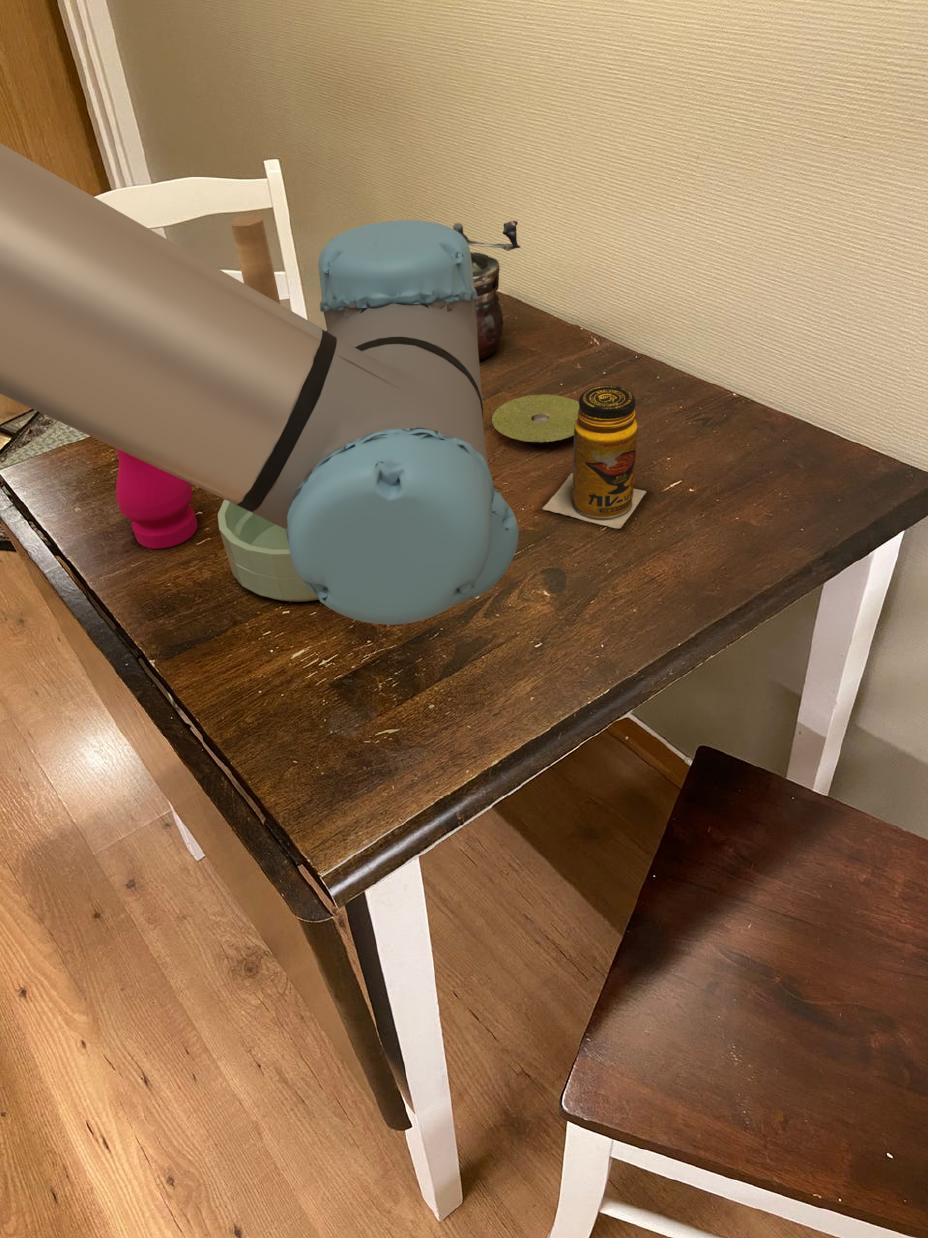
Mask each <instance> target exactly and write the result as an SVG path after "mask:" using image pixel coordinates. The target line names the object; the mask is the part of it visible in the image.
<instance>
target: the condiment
mask: <svg viewBox="0 0 928 1238" xmlns="http://www.w3.org/2000/svg"><path fill="white" fill-rule="evenodd" d="M578 398H579V399H578V403H579V410H578V419H577V420H576V422H575V425H574V435H573V461H572V463H573V464H572V466H573V467H572V472H571V473H570V474H569V475H568V476H567V479H566V480H565V481H564V482H563V483H562V485H561V486H560V488H559V489H558V490H557V491H556V492H555V493H554V495H552V496H551V498H550V499H549V500H548V502H547V503H546V504H544V506H543V507H542V508H541V510H542V511H549V512H552V513H556V514H561V515H563V516H569V517H572V518H575V519H578V520H581V521H584V522H588V523H592V524H597V525H600V526H606V527H609V528H613V529H622V527H623V526H624V524H625V523H626V522H627V520H628V519H629V518H630V517H631V515H632V514H633V512H634V511H635V510H636V508H637V506H638V505H639V504H640V502H641V501H642V499H643V497H644V496H645V495H646V494H647V490H643V489H637V488H634V484H635V472H636V461H637V459H636V458H637V454H636V453H637V445H638V435H639V434H638V433H639V426H638V422H637V420H636V409H635V408H636V398H635V396H634V394H633V393H632V392H631V391H630V390H629V389H627V388H624V387H621V386H618V385H613V384H611V385H610V384H605V385H598V386H594V387H590V388H588V389H586V390H585V391H583V392H582V394H580V395H579V397H578Z"/></svg>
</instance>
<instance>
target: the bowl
mask: <svg viewBox="0 0 928 1238" xmlns="http://www.w3.org/2000/svg"><path fill="white" fill-rule="evenodd" d="M217 523H218V530H219V534H220V536H221V540H222V543H223V547H224V551H225V553H226V557H227V560H228V563H229V566H230V570H231V574H232V576H233V577H234V578H235V579H236V580H237V581H238V583H239V584H240V586H242V587H243V588H245V589H247V590H249V591H251V592H253V593H254V594H256V595H258V596H261V597H265V598H269V599H271V600H276V601H282V602H290V603H291V602H295V603H296V602H297V603H298V602H299V603H300V602H311V601H312V602H313V601H320V600H319V598H318V596H316V595H315V594H314V593H313V592H312V591H311V590H310V589H309V588H308V587H307V585H306V584H305V583H304V582H303V581H302V580H301V578H300V577H299V576H298V574H297V573H296V570H295V568H294V566H293V563H292V559H291V556H290V550H289V542H288V539H287V534H286V529H284V528H282V527H280V526H278V525H276V524H274V523H272V522H270V521H267V520H265V519H263V518H262V517H260V516H258V515H256V514H254V513H252V512H250V511H248V510H246V509H244V508H242V507H240V506H237V505H235V504H233V503H231V502H229V501H227V500H225V499H223V502H222V503H221V506H220V508H219V510H218V513H217Z"/></svg>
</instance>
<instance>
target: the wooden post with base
mask: <svg viewBox="0 0 928 1238" xmlns="http://www.w3.org/2000/svg"><path fill="white" fill-rule="evenodd" d="M230 228H231V232H232V236H233V241H234V245H235V250H236V254H237V258H238V263H239V268H240V272H241V277H242V281H243V283H244V284H246V285H247V286H249V287H251V288H253V289H254V290H256V291H258V292H260V293H261V294H263V295H265V296H266V297H268V298H270V299H272V300H273V301H275V302H277V303H279V304H280V305H282V304H281V301H280V294H279V291H278V285H277V280H276V274H275V269H274V264H273V261H272V254H271V250H270V245H269V239H268V235H267V230H266V225H265V219H264V217H263V216H261V215H257V214H253V215H252V214H251V215H250V214H249V215H242V216H238V217H235V218H233V219H231V221H230Z"/></svg>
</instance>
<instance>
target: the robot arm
mask: <svg viewBox="0 0 928 1238" xmlns="http://www.w3.org/2000/svg"><path fill="white" fill-rule="evenodd" d="M471 252H472V251H471V249H470V245H468V244H467V241H466V240H465V239H464V237H463V236H462V235H461V234H460V233H459V232H457V231H456V230H454V229H453V227H450V226H447V225H445V224H442V223H438V222H433V221H427V220H416V219H415V220H414V219H413V220H412V219H409V220H407V219H405V220H402V219H401V220H388V221H381V222H374V223H369V224H365V225H364V224H363V225H360V226H357V227H354V228H350V229H348V230H346V231H343V232H341V233H339V234H338V235H336V236H334V237H333V238H331V239H330V240H329V241H328V242H327V243H325V245H324V247H323V248H322V249H321V251H320V253H319V255H318V262H317V266H318V276H319V285H320V294H321V300H320V302H319V310H320V312H321V313H323V317H324V321H325V326H326V330H324V329H323V328H322V327H321V326H318V325H317V324H315V323H313V322H312V321H310V320H308V319H306V318H305V317H303V316H301V315H299V314H298V313H296V312H295V311H292V310H291V309H289V308H287V307H286V306H284V305H282V304H281V303H280V304H281V305H280V304H279V303H277V302H275V301H273V300H272V299H270V298H268V297H266V296H265V295H263V294H261V293H260V292H258V291H256V290H254V289H253V288H251V287H249V286H247V285H246V284H244V282H242V281H240V280H238V279H237V278H235V277H234V276H231V274H229V273H226V272H225V271H223V270H221V269H220V268H218V267H216V266H214V265H213V264H211V263H209V262H208V261H206V260H204V259H202V258H200V257H199V256H197V255H195V254H193V252H191V251H189V250H186V249H185V248H183V247H182V246H179V244H177V243H175V242H173V241H171V240H169V239H168V238H166V237H165V236H163V235H161V234H159V233H157V232H155V231H154V230H152V229H150V228H149V227H147V226H145V225H144V224H142V223H139V222H138V221H136V220H135V219H133V218H132V217H129V216H127V215H126V214H124V213H122V212H121V211H119V210H117V209H115V208H113V206H110V205H108V204H107V203H106V202H104V201H102V200H100V199H98V198H97V197H94V195H91V194H89V193H88V192H86V191H84V190H82V189H81V188H79V187H77V186H75V184H73V183H71V182H69V181H67V180H66V179H64V178H62V177H60V176H59V175H57V174H55V173H53V172H51V171H50V170H48V169H46V168H44V167H43V166H41V165H39V164H37V163H36V162H34V161H32V160H31V159H29V158H27V157H25V156H24V155H22V154H20V153H19V152H17V151H15V150H13V149H12V148H10V147H8V146H6V145H5V144H2V143H1V142H0V395H2V396H4V397H7V398H9V399H11V400H12V401H15V402H17V403H19V404H22V405H23V406H25V407H28V408H30V409H32V410H34V411H36V412H38V413H40V414H42V415H44V416H46V417H48V418H50V419H53V420H55V421H57V422H59V423H60V424H61V423H62V424H64V425H66V426H67V427H70V428H72V429H75V430H76V431H78V432H81V433H83V434H84V435H86V436H89V437H91V438H93V439H95V440H98V441H100V442H101V443H104V444H106V445H108V446H110V447H111V448H115V449H116V448H117V449H119V450H121V451H123V452H125V453H127V454H129V455H131V456H134V457H136V458H138V459H140V460H142V461H144V462H146V463H148V464H151V465H153V466H155V467H157V468H159V469H161V470H163V471H165V472H168V473H170V474H172V475H174V476H176V477H178V478H180V479H182V480H184V481H187V482H189V483H190V485H193V486H195V487H198V488H199V489H202V490H203V491H206V492H208V493H210V494H212V495H214V496H217V497H219V498H220V499H223V500H227V501H229V502H231V503H233V504H235V505H237V506H240V507H242V508H244V509H246V510H248V511H250V512H252V513H254V514H256V515H258V516H260V517H262V518H263V519H265V520H267V521H270V522H272V523H274V524H276V525H278V526H280V527H282V528H284V529H286V534H287V539H288V542H289V550H290V556H291V559H292V563H293V566H294V568H295V570H296V573H297V574H298V576H299V577H300V578H301V580H302V581H303V582H304V583H305V584H306V585H307V587H308V588H309V589H310V590H311V591H312V592H313V593H314V594H315V595H316V596H318V598H319V600H318V601H319V602H320V603H321V604H322V605H324V606H326V607H327V608H328V609H330V610H332V611H334V612H335V613H337V614H339V615H341V616H343V617H346V618H348V619H351V620H355V621H357V622H361V623H368V624H375V625H387V626H389V625H390V626H391V625H393V626H395V625H396V626H397V625H398V626H399V625H407V624H413V623H417V622H421V621H425V620H427V619H430V618H433V617H435V616H437V615H440V614H442V613H443V612H445V611H447V610H449V609H450V608H451V607H454V606H457V605H460V604H462V603H466V602H468V601H470V600H474V599H476V598H479V597H480V596H482V595H483V594H485V593H486V592H488V591H489V590H490V589H492V588H493V587H494V586H495V585H496V584H497V583H498V582H499V581H500V580H501V579H502V578H503V576H504V575H505V573H506V572H507V571H508V569H509V567H510V566H511V563H512V562H513V560H514V558H515V554H516V551H517V549H518V545H519V534H520V531H519V530H520V529H519V524H518V520H517V518H516V515H515V513H514V511H513V510H512V508H511V506H510V505H509V504H508V502H507V501H506V500H505V498H503V496H502V495H503V494H502V493H501V491H499V490H498V489H497V488H496V486H495V485H494V481H493V476H492V472H491V470H490V466H489V460H488V453H487V445H486V438H485V437H486V435H485V426H484V402H483V389H482V378H481V366H480V365H481V364H480V359H479V355H478V339H477V316H476V301H477V292H476V290H475V288H474V282H473V272H472V262H471Z"/></svg>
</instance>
